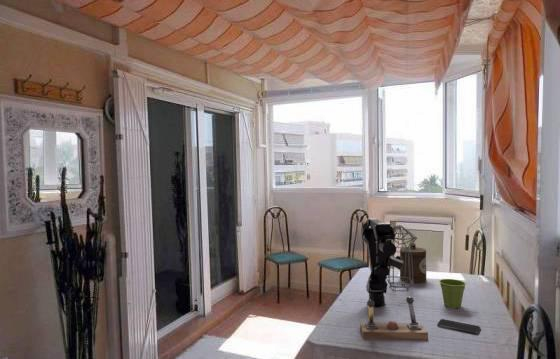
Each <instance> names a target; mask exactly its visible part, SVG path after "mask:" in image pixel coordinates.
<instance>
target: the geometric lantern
mask: <svg viewBox="0 0 560 359" xmlns="http://www.w3.org/2000/svg"><path fill="white" fill-rule="evenodd" d="M392 228H393V230H394V234H395V237H394V238H395V239H394V240H392V243H393V244H394V242H395V243H396V244H397V245H396V249H398V248H399V249H400V248H405V247H406V248H405V277H400V276H397V275H396V276H394V274H395V269H394V268H395V267H393V266H392V276H391V273H390V274H389V276H386V281H387V283H388V285H389V288H390V289H391V290H392V291H394V292H408V291H409V287H411V286H412V285H414V284H415V283H414V280H413V261H412V250H410V249H409V247H410V244H411V243H412V247H413V243H415V241H416V240H417V239H418V237H417V236H415V234H413V233H412V232H411V231H409V230H408V229H406V228H405V227H404V226H403V225H400V224H399V225H395V226H392ZM403 231H404V232H403ZM396 235H397V237H396ZM407 235H409V236H410V238H408V237H407V238H405V237H406V236H407ZM390 236H391V235H390ZM406 240H407V241H406ZM399 241H402V242H401V243H400V242H399ZM405 241H406V242H405ZM408 243H409V244H408ZM406 244H408V246H407V245H406ZM400 245H404V246H400ZM407 247H408V248H407ZM406 249H407V251H408V266H409V278H408V277H406ZM409 250H410V252H411V263H412V280H411V272H410V252H409ZM396 253H399V251H397V250H396ZM394 255H395V254H394ZM394 255H392V257H395V256H394ZM388 268H389V269H391V267H388ZM390 278H392V281H391V279H390ZM395 278H399V279H400V278H404V279H405V278H408V280H409V279H410V283H408V282H407V281H408V280H407V281H406V282H404V280H403V281H398V282H397V281H395ZM412 281H413V282H412ZM411 282H412V283H411ZM397 288H399V289H397ZM400 288H402V289H400ZM404 288H405V289H404Z"/></svg>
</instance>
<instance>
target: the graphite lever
mask: <svg viewBox="0 0 560 359" xmlns="http://www.w3.org/2000/svg"><path fill="white" fill-rule="evenodd" d="M405 301H406V303H407V305H408V306H407V307H408V311H409V315H410V322H409V323H410V325H418V323H419V322H417V320H416V314H415V307H414V298H413V296H407V297H406V299H405Z"/></svg>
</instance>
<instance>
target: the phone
mask: <svg viewBox="0 0 560 359" xmlns="http://www.w3.org/2000/svg"><path fill="white" fill-rule="evenodd" d="M436 326H437V328H443V329H447V330H452V331H456V332H460V333H465V334H471V335H474V336H476V335H477V336H478V335H479V333H480V331H481V326H480V325H476V324H471V323H470V324H469V323H465V322H459V321H455V320H449V319H446V318H441V319H439V321H438V322H437V325H436Z"/></svg>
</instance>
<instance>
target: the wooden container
mask: <svg viewBox="0 0 560 359" xmlns="http://www.w3.org/2000/svg"><path fill="white" fill-rule="evenodd" d="M409 244H410V243H409ZM416 245H417V244H416V243H415V242H414V243H413V247H412V242H411V244H410V246H409V249H410V250H412V261H413V280H414V284H422V283H426V282H427V249H426V248H424V247H418V246H416ZM404 247H405V246H404ZM406 247H407V248H408V246H406ZM406 247H405V248H406ZM405 248H399V256H400V257H401V260H403V265H402V268H401V270H399V277H405ZM410 250H409V252H410ZM410 272H411V280H412V263H411V252H410ZM406 277H408V278H409V266H408V251H407V249H406ZM408 278H405V279H404V278H399V279H400V281H401V282H403V280H404V281H405V282H406V281H407V280H408ZM405 282H404V283H405ZM412 282H413V281H412ZM412 282H411V284H412ZM406 283H408V284H410V279H409V280H408V281H407V282H406Z"/></svg>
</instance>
